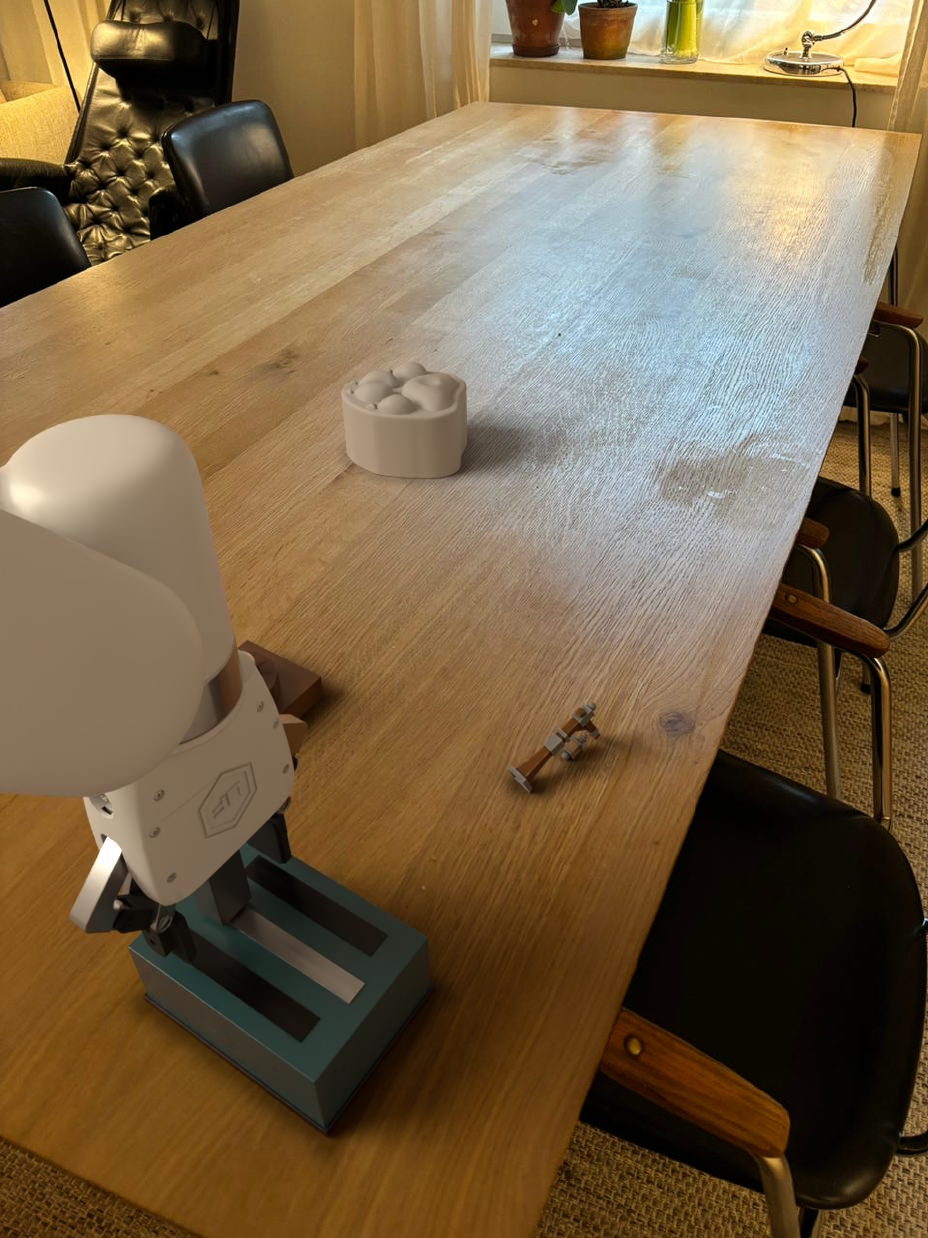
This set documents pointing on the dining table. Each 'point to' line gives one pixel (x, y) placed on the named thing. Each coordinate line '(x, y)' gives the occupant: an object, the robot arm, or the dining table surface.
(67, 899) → the dining table surface
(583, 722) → the wooden post with brackets
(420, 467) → the lumpy-topped squat cylinder
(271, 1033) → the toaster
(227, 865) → the slider
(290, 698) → the control block
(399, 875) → the dining table surface
